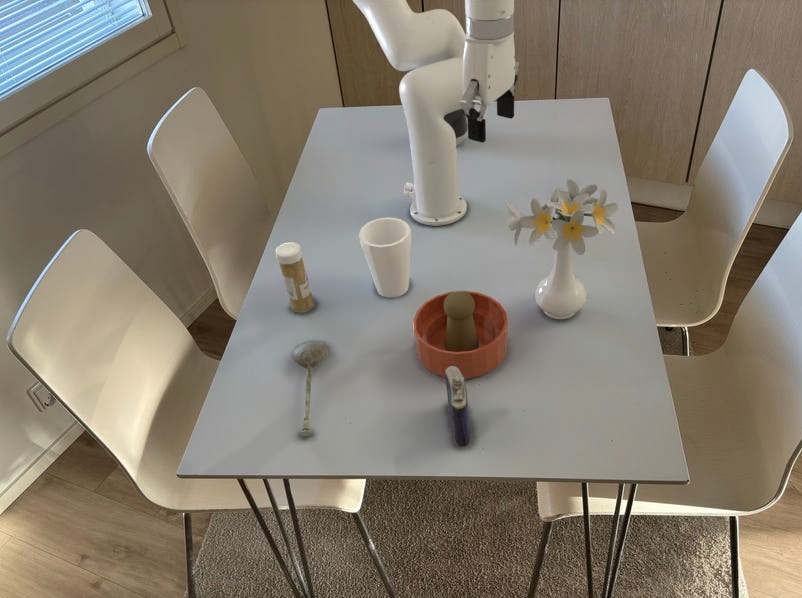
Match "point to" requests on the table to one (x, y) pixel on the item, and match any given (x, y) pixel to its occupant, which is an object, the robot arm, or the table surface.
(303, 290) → the sprinkles bottle
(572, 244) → the flower vase
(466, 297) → the olive peg figure
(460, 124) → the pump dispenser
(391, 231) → the foam cup
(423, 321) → the orange plant pot
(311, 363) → the soupspoon
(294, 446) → the table surface
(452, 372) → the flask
